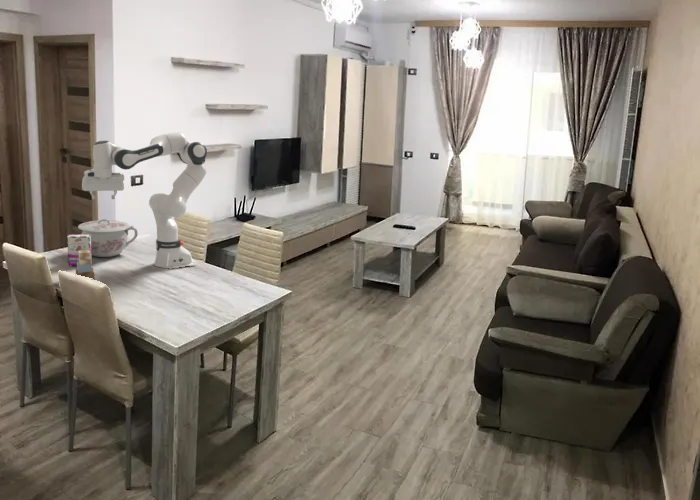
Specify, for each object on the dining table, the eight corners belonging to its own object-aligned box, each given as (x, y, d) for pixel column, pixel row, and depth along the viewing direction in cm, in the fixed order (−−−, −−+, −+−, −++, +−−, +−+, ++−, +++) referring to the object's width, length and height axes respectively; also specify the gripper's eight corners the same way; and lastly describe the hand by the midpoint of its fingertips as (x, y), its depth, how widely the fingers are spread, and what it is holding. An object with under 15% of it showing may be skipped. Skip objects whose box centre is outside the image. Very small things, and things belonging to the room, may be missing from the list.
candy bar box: (92, 263, 331) (91, 234, 326) (90, 266, 326) (89, 236, 322) (69, 263, 328) (68, 234, 323) (68, 266, 323) (66, 236, 319)
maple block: (89, 261, 309) (89, 249, 308) (90, 264, 305) (90, 252, 304) (78, 262, 307) (78, 250, 305) (80, 264, 303) (79, 253, 301)
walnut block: (92, 275, 314) (92, 267, 313) (94, 279, 307) (94, 272, 306) (75, 276, 310) (75, 268, 309) (76, 281, 303) (76, 273, 302)
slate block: (89, 268, 311) (89, 260, 310) (91, 271, 306) (91, 264, 305) (76, 269, 308) (76, 261, 307) (78, 272, 303) (78, 265, 302)
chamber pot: (67, 256, 339) (66, 220, 334) (101, 245, 365) (100, 211, 359) (110, 264, 332) (109, 227, 327) (141, 252, 357) (140, 218, 352)
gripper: (123, 171, 320) (123, 197, 324) (81, 171, 311) (82, 198, 315) (124, 173, 315) (125, 199, 319) (81, 173, 306) (83, 200, 309)
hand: (103, 199), depth 317 cm, fingers open, 8 cm apart
